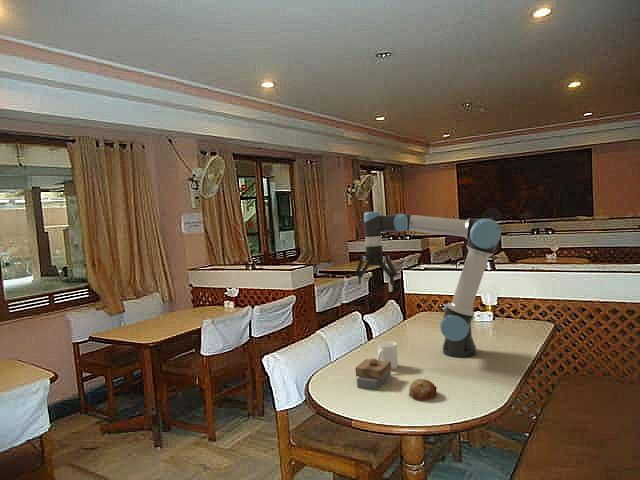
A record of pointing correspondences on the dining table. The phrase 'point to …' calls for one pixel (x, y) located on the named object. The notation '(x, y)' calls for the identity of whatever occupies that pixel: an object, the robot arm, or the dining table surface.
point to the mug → (388, 353)
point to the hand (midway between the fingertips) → (376, 291)
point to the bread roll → (422, 390)
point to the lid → (373, 368)
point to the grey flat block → (371, 382)
